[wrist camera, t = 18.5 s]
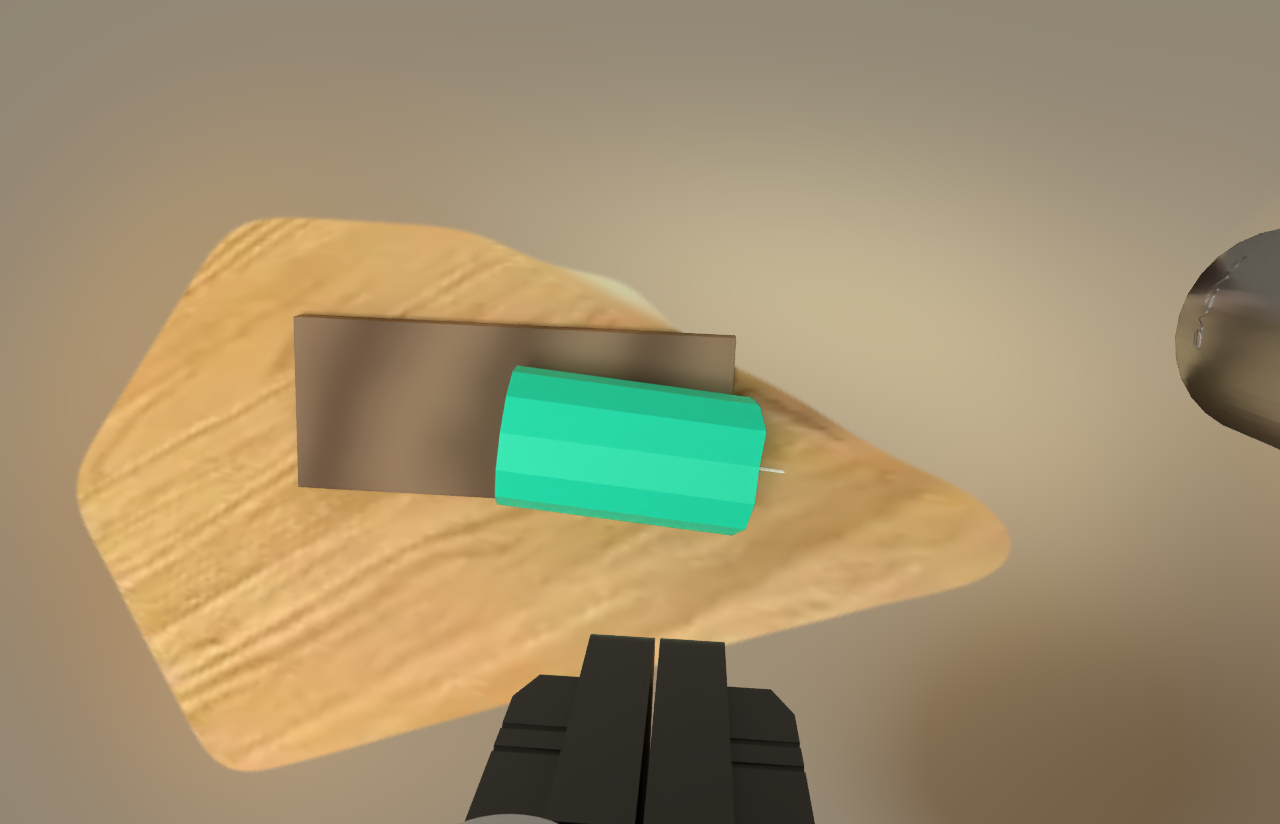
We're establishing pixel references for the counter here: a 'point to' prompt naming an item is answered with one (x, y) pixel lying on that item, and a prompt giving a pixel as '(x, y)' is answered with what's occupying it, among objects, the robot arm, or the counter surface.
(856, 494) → the counter surface
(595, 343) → the board
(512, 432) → the candle
